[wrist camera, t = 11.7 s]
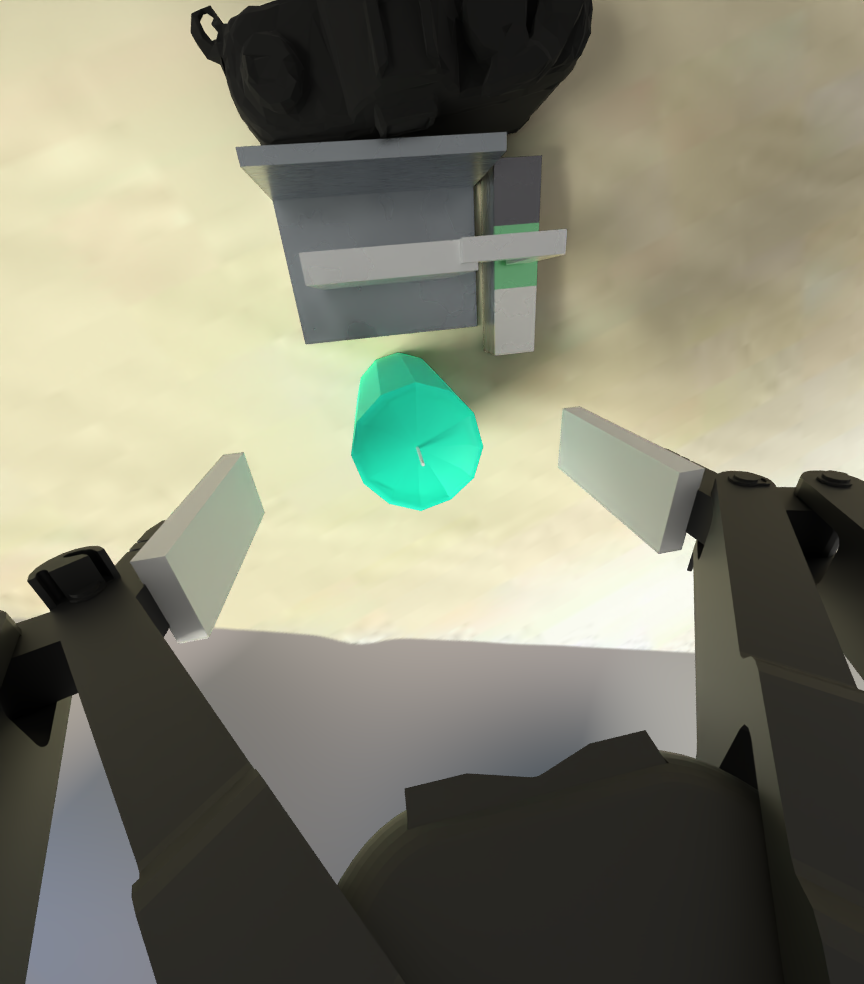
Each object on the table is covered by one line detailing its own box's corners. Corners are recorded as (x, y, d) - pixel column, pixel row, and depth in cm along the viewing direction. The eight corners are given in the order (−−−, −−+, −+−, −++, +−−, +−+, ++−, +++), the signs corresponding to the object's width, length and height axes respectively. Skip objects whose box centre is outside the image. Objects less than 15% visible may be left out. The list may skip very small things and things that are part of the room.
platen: (322, 289, 22) (303, 285, 15) (318, 266, 21) (296, 251, 15) (514, 272, 23) (571, 260, 17) (514, 248, 22) (573, 228, 16)
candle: (443, 436, 28) (489, 519, 17) (361, 441, 27) (357, 532, 16) (443, 350, 25) (497, 387, 14) (352, 354, 24) (339, 395, 14)
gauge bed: (312, 370, 24) (296, 389, 19) (270, 188, 20) (235, 147, 15) (519, 346, 26) (558, 358, 20) (523, 171, 21) (574, 127, 16)
